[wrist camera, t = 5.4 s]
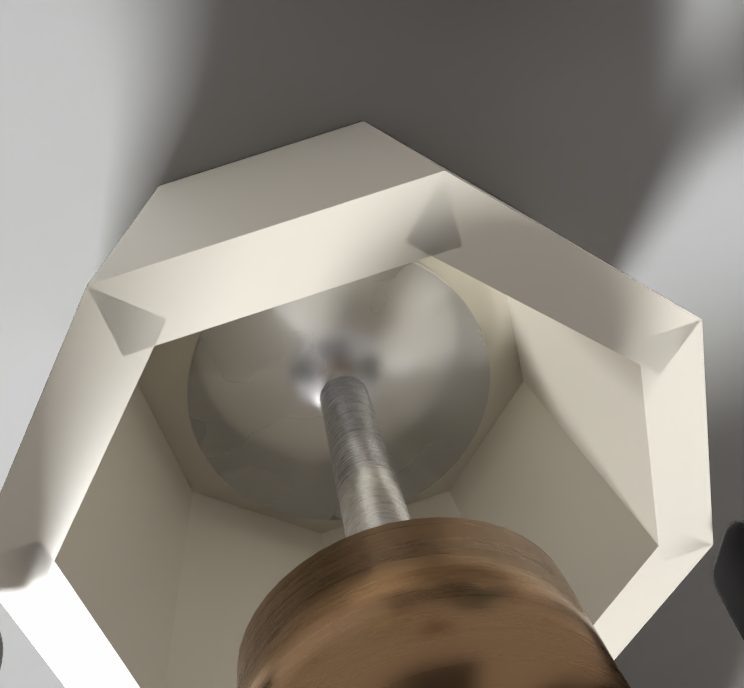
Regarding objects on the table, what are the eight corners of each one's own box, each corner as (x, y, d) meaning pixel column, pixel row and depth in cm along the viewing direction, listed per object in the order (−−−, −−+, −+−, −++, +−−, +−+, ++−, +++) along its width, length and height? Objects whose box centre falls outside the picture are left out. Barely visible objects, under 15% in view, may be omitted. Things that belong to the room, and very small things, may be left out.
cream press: (690, 310, 14) (916, 444, 9) (468, 610, 16) (555, 836, 12) (222, 39, 10) (194, 25, 5) (33, 475, 13) (-96, 722, 8)
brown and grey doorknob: (535, 320, 12) (895, 661, 5) (393, 536, 14) (530, 1012, 7) (271, 184, 11) (305, 436, 4) (142, 450, 12) (-9, 981, 5)
